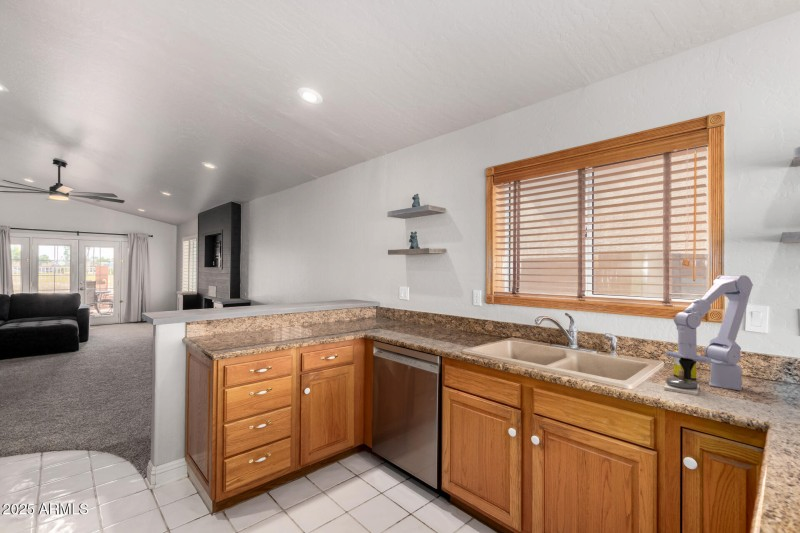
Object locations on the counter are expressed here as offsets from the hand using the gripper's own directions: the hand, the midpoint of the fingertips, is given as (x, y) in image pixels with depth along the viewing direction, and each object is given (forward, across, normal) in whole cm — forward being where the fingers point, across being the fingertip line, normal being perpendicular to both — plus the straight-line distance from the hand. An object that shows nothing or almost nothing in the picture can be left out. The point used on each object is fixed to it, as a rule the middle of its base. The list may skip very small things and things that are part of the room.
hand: (687, 378), depth 146 cm
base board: (+3, 0, -4) cm, 5 cm away
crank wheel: (+2, 0, -4) cm, 4 cm away
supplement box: (+4, -7, +14) cm, 16 cm away
